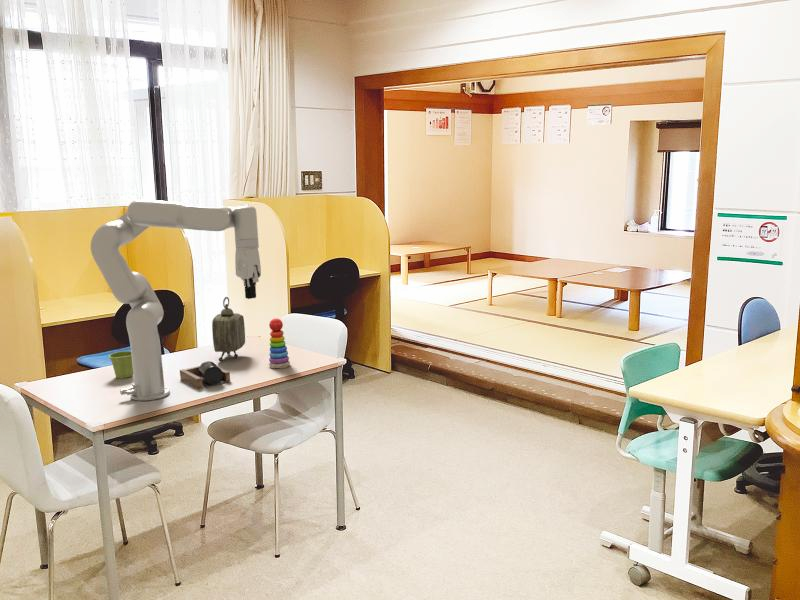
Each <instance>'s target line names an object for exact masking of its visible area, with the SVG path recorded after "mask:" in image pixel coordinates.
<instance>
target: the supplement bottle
mask: <svg viewBox="0 0 800 600" xmlns="http://www.w3.org/2000/svg"><path fill="white" fill-rule="evenodd" d="M199 366H200V368H199V375H200V376H201V378H202V379H203V380H204V381H205V382H206V383H207V384H209V385H214V386H216V385H215V384H218V383H219V382H220V381H221V380H222V377H223V373H222V370H221V369H220V368H221V367H220V366H218V365H217V364H215V362H213V361H209V360H208V361H204V362H202V363H201V364H200V365H199ZM219 367H220V368H219ZM218 385H219V384H218Z"/></svg>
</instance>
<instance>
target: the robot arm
mask: <svg viewBox="0 0 800 600" xmlns="http://www.w3.org/2000/svg"><path fill="white" fill-rule="evenodd" d="M150 227H158V228H170V229H171V228H173V229H181V230H194V231H195V230H196V231H206V232H222V231H225V230H228V229H231V228H234V242H235V255H234V256H235V257H234V258H235V259H234V260H235V262H234V263H235V267H234V268H235V275H236V277H237V278H240V280H242V281H243V286H244V297H245V299H247V300H250V299H256V298H257V291H256V289H257V283H258V282H259V281H260V280H259V279H260V278H261V275H262V268H261V265H262V264H261V258H260V253H259V248H260V246H259V245H260V244H259V233H258V231H259V230H258V216H257V209H256V207H254V206H251V205H250V206H249V205H247V206H246V205H245V206H244V205H243V206H237V207H235V206H234V207H233V206H226V205H225V206H217V207H206V206H205V207H204V206H203V207H202V206H193V205H189V204H185V203H183V202H179V201H167V200H166V201H165V200H155V199H154V200H152V199H150V198H141V199H140V198H139V199H135V200H133V201H132V202H130V203H129V205H128V206H127V211H126V212H124V213H123V214H122V215H120V216H119V218H117V219H116V220H113V221H109V222H106V223H104V224H102V225H101V226H99V227H98V228H97V229H96V231H95V232H94V234H93V236H92V237H91V240H90V252H91V256H92V258H93V261H94V262H95V264H96V266H97V267H98V269H99V270H100V272H101V274H102V276H103V278H104V280H105V282H106V283H107V285H108V287H109V289H110V291H111V293H112V295H113V296H114V298H115V299H116V301H117V302H119V303H121V304H125V305H128V304H129V306H130V307H131V309H130V310H129V311H128V312H127V315H126V319H125V324H126V325H125V326H126V330H127V334H128V340H129V345H130V351H131V356H132V365H133V383H131V386H129V387H127V388H121V389H120V390H119V394H120V395H121V396H123V395H127V396H129V395H130V398H131V400H134V401H140V402H141V401H142V402H143V401H144V402H145V401H153V400H157V399H159V400H160V399H162V398H165V397H166V396H168V395H169V394H170V393H171V390H170V388H169V387H167V386H165V380H164V378H165V377H164V367H163V358H162V348H161V341H160V340H161V339H160V334H159V330H158V325H159V324H160V323H161V322H162V320H163V318H164V314H165V313H164V309H163V305H162V303H161V302H160V300H159V298H158V296H157V295H156V292H155V290H154V288H153V287H152V285H151V284H150V282H149V280H148V279H147V278H146V276H144V274H142V273H140V272H137V271H132V269H131V268H130V266H129V264H128V262H127V260H126V258H124V256H123V255H122V253H121V252H120V247H123V246H125V245H128V244H129V243H131V242H132V241H134V239H136V238H137V237H139V236H140V235H141V234H142V233H143V232H145V230H147V229H148V228H150Z"/></svg>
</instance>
